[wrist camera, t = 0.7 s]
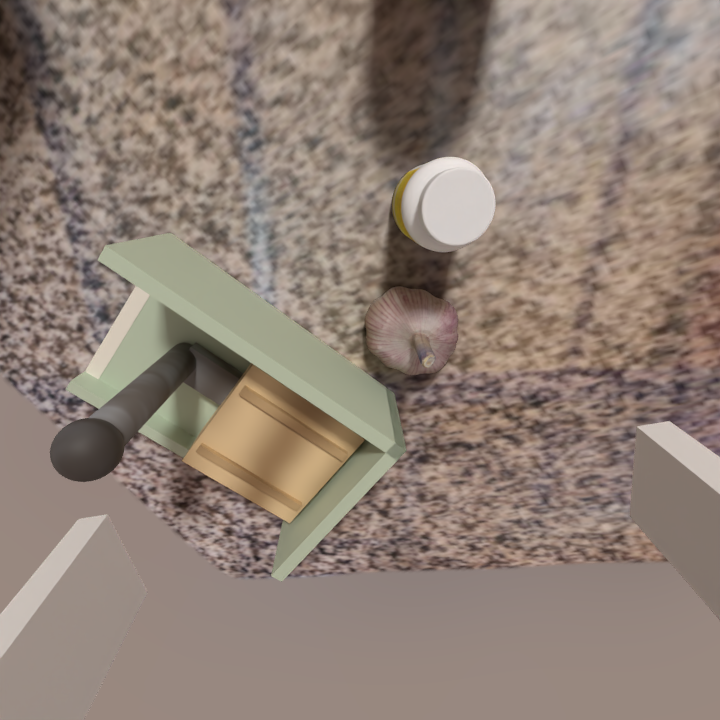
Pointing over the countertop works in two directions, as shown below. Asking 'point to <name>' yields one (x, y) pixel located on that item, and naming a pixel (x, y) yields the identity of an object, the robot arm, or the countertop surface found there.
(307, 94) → the countertop surface
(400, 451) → the bay
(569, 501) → the countertop surface
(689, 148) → the countertop surface
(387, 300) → the garlic bulb
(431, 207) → the supplement bottle
